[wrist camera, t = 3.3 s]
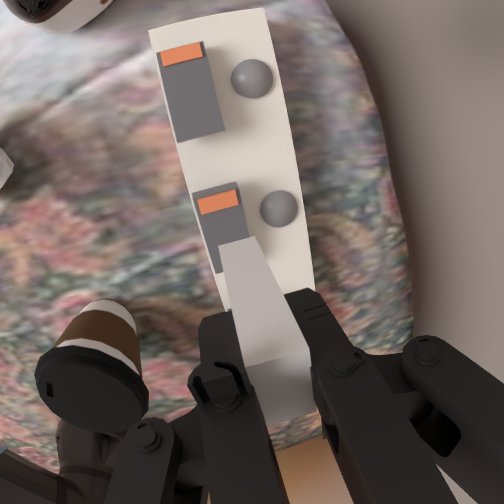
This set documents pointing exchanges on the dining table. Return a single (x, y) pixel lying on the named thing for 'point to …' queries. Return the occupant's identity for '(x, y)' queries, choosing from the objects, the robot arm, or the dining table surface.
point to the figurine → (5, 167)
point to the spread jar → (57, 13)
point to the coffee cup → (95, 371)
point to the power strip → (247, 140)
